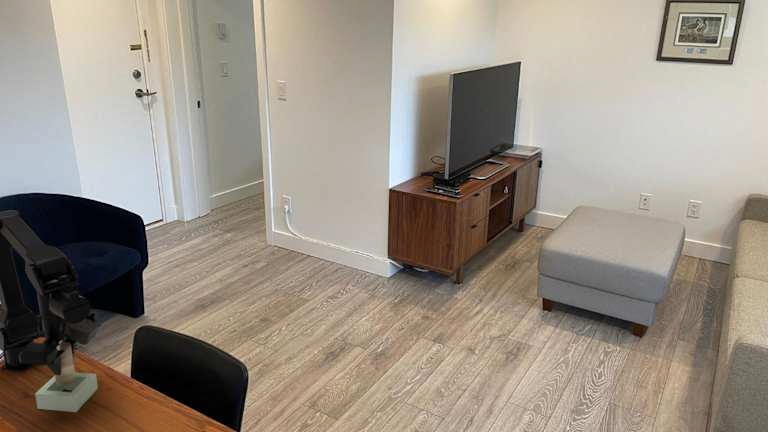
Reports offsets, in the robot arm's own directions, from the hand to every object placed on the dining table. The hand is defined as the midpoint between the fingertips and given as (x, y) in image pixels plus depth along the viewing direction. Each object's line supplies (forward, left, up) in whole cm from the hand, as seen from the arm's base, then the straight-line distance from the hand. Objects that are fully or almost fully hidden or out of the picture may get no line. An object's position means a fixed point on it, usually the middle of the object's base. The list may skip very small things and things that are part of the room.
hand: (64, 369), depth 132 cm
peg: (0, 0, -3) cm, 3 cm away
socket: (0, 0, -8) cm, 8 cm away
